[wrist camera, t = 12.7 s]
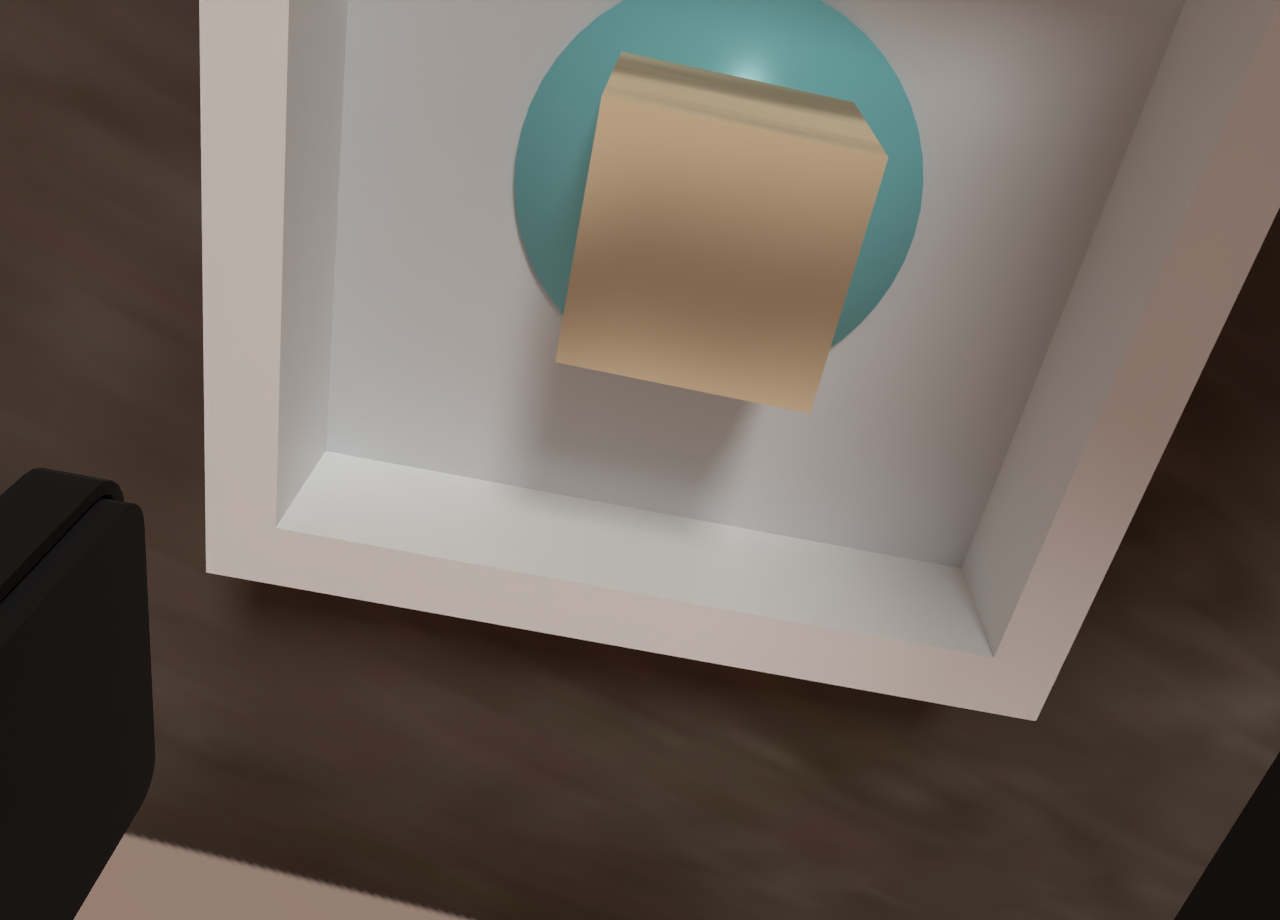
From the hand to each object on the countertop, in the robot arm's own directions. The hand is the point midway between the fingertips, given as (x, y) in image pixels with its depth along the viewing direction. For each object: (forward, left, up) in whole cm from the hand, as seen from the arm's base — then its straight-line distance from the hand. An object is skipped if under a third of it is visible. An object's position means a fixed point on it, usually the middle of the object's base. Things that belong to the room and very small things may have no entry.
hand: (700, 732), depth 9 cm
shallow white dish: (0, 0, -18) cm, 18 cm away
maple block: (0, 0, -17) cm, 17 cm away
